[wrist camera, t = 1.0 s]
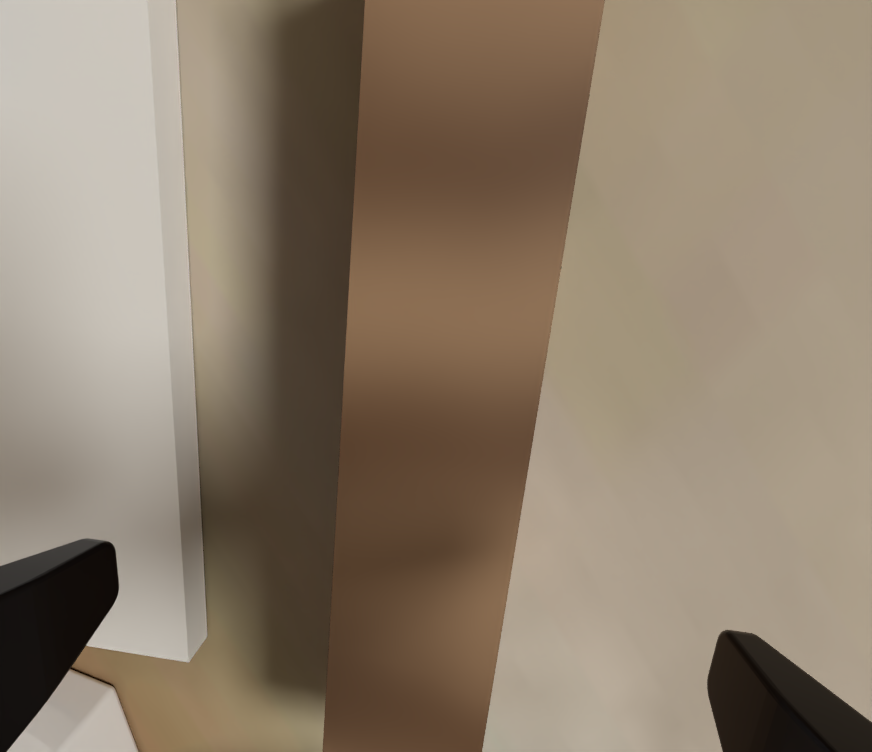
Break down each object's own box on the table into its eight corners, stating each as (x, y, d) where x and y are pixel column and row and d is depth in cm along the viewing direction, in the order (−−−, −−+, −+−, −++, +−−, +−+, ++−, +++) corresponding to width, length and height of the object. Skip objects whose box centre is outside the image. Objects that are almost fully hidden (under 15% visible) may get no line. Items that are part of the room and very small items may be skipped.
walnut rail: (475, 695, 19) (465, 852, 14) (364, 674, 19) (318, 821, 15) (586, -30, 13) (633, -181, 8) (422, -40, 13) (375, -190, 8)
